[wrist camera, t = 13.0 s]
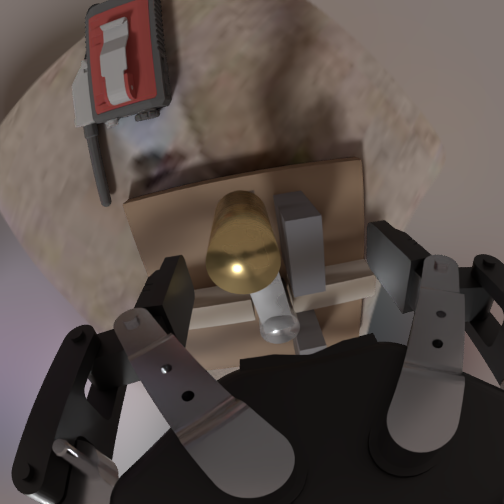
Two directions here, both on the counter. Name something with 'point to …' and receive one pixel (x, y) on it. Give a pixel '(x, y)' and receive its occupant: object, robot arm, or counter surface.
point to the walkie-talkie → (120, 72)
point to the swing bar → (250, 262)
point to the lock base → (290, 247)
